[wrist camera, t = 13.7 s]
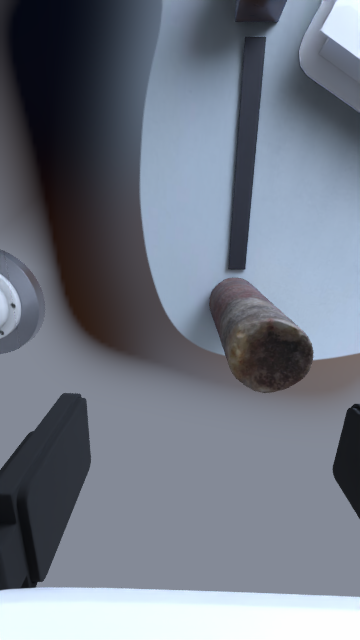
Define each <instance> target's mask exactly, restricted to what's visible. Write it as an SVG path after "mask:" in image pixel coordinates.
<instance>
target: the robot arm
mask: <svg viewBox="0 0 360 640" xmlns="http://www.w3.org/2000/svg"><path fill="white" fill-rule="evenodd" d="M20 318H21V302H20V299H19V296H18V294H17V292H16V290H15V288H14V287H13V286H12V284H11V283H10V282H9V281H8V280H7V279H6V278H5V277H4V276H3V275H1V274H0V339H1V338H3V337H5V336H7V335H8V334H10V333H11V332H12V331H13V330H14V329H15V328H16V327H17V325H18V323H19V321H20ZM90 463H91V455H90V442H89V429H88V416H87V404H86V399H85V398H82V397H81V395H80V394H73V393H72V394H71V393H64V394H62V395H61V396H60V398H59V399H58V400H57V402H56V403H55V404H54V406H53V407H52V408H51V410H50V411H49V412H48V413H47V415H46V416H45V417H44V419H43V420H42V421H41V423H40V424H39V425H38V427H37V428H36V429H35V431H32V432H30V433H29V434H28V435H27V436H26V437H25V439H24V440H23V441H22V443H21V444H20V445H19V446H18V448H17V449H16V450H15V452H14V453H13V454H12V456H11V457H10V458H9V459H8V461H7V462H6V463H5V464H4V466H3V467H2V468H1V470H0V640H360V597H346V596H345V597H344V596H321V595H295V594H271V593H243V592H216V591H186V590H152V589H123V588H122V589H121V588H48V587H43V588H35V587H36V585H37V582H42V581H44V579H45V577H46V575H47V573H48V570H49V568H50V566H51V563H52V560H53V558H54V556H55V553H56V551H57V548H58V546H59V543H60V541H61V538H62V536H63V533H64V530H65V528H66V525H67V523H68V520H69V518H70V516H71V513H72V511H73V508H74V506H75V503H76V501H77V498H78V496H79V493H80V491H81V488H82V486H83V483H84V481H85V478H86V476H87V473H88V471H89V468H90ZM333 475H334V478H335V480H336V481H337V483H338V484H339V486H340V488H341V489H342V491H343V493H344V494H345V496H346V497H347V499H348V500H349V502H350V504H351V505H352V507H353V509H354V510H355V512H356V513H357V515H358V517H359V518H360V404H354V405H353V406H352V407H351V408H349V409H348V410H347V413H346V417H345V421H344V425H343V429H342V433H341V437H340V441H339V445H338V449H337V453H336V457H335V461H334V465H333Z"/></svg>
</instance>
